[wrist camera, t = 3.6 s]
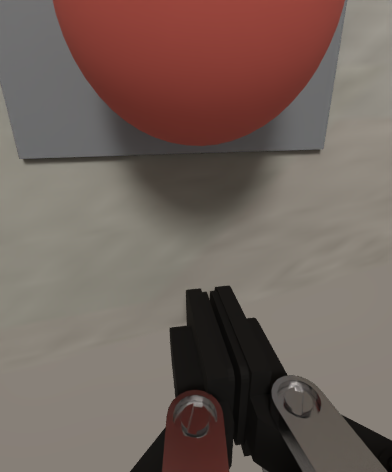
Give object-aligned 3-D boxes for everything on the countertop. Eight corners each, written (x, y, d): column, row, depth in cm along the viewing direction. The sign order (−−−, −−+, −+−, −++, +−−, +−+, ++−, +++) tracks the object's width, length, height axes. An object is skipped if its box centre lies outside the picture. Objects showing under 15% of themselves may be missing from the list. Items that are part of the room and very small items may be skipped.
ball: (184, 173, 11) (229, 231, 5) (37, 34, 8) (-161, -128, 3) (303, 43, 10) (514, -55, 4) (175, -156, 7) (277, -962, 2)
